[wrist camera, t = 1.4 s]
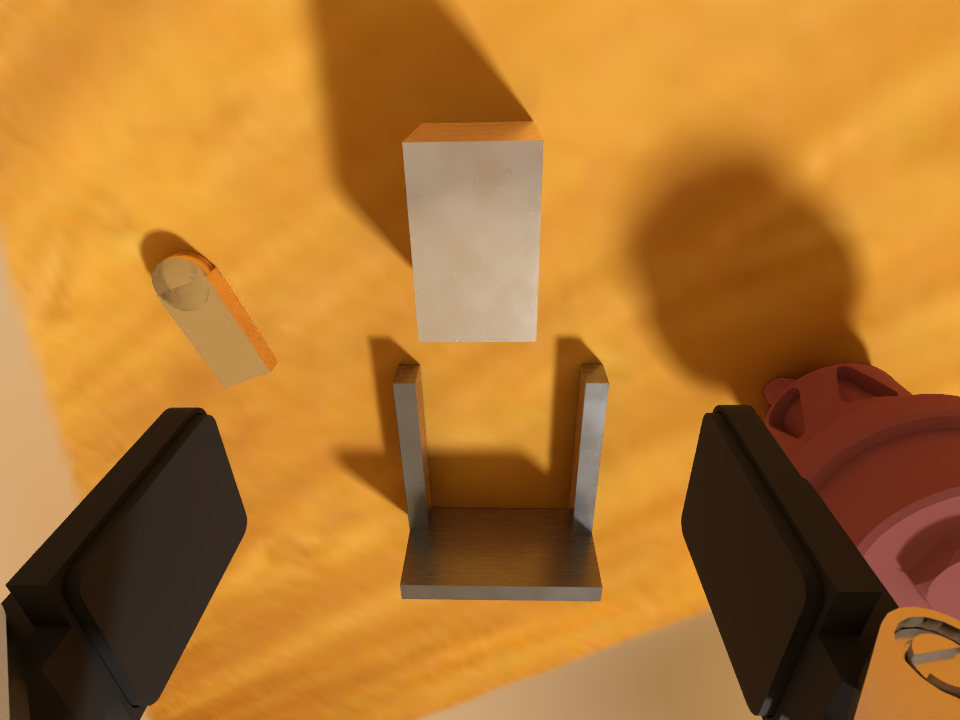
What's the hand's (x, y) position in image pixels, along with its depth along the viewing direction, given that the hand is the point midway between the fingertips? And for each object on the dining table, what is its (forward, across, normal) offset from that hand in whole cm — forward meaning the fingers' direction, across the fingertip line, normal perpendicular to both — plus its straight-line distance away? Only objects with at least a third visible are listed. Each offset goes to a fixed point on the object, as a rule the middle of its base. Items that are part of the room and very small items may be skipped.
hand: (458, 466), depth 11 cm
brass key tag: (+18, +14, +6) cm, 24 cm away
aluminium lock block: (+18, 0, 0) cm, 18 cm away
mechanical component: (+18, -19, +11) cm, 29 cm away
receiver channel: (+18, -1, +14) cm, 23 cm away
